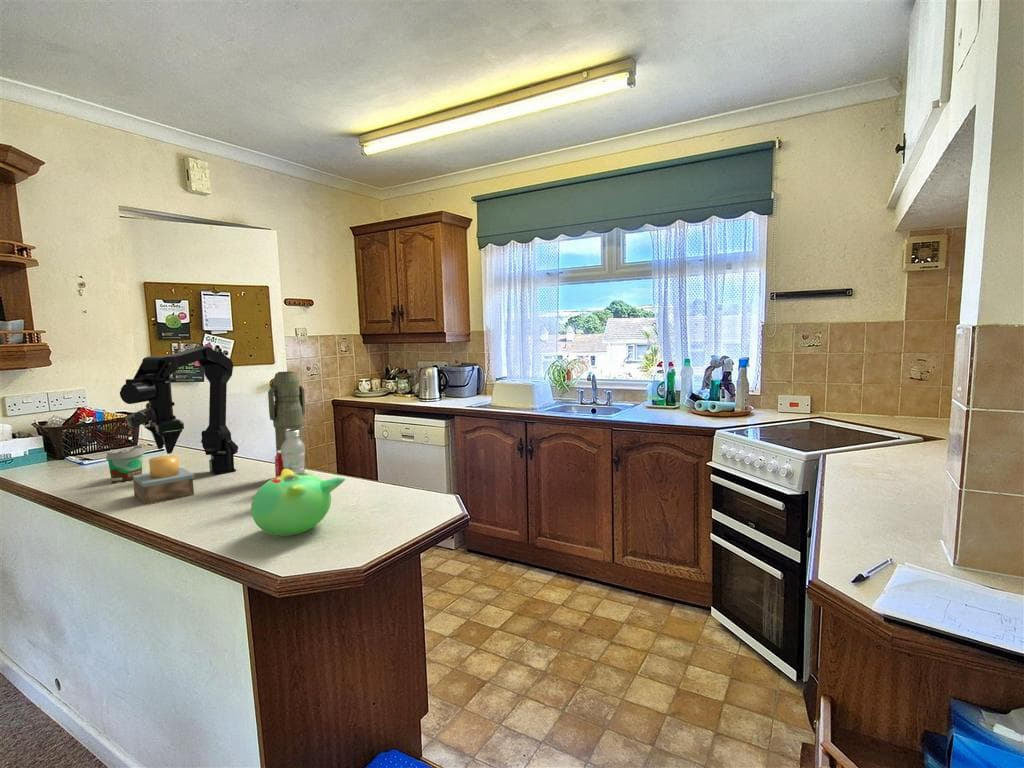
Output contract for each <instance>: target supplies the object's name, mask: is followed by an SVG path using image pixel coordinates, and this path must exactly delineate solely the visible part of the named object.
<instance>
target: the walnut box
mask: <svg viewBox="0 0 1024 768" xmlns="http://www.w3.org/2000/svg"><path fill="white" fill-rule="evenodd" d="M132 482H133V495H134V498H136V499H137V498H138V499H139V500H138V499H137V500H138V501H140V503H142V504H143V505H144V506H147V505H146V504H148V505H151V503H152V504H155V502H157V503H160V502H161V501H162V502H166V500H167V501H171V499H172V500H175V499H180V498H185V497H190V495H191V496H195V489H194V478H192V479H187V480H181V481H176V482H170V483H165V484H159V485H154V486H148V487H143V486H141V485H140V484H139V483H137V482H136V481H135V480H134V479H133V481H132Z"/></svg>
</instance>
